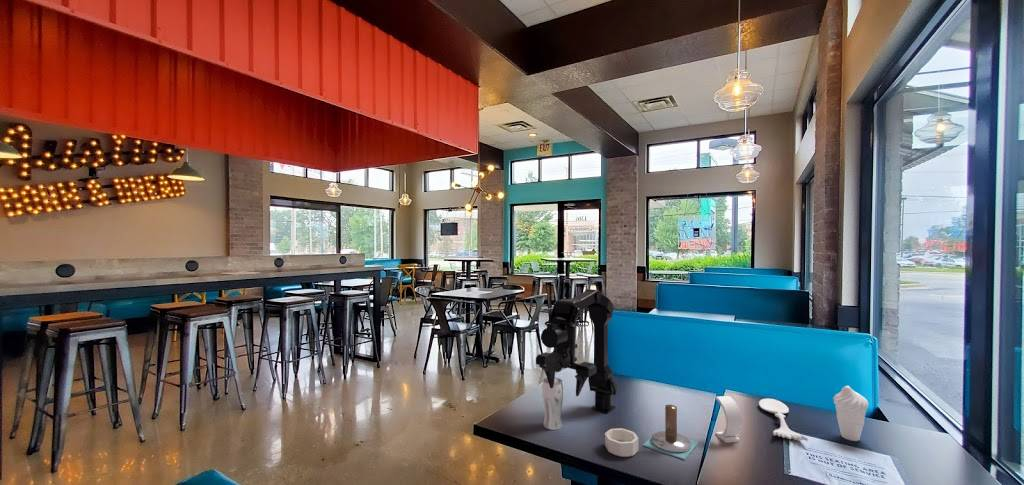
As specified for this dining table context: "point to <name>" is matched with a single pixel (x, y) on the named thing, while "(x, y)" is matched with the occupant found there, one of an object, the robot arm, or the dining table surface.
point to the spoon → (779, 410)
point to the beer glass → (552, 403)
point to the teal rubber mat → (678, 455)
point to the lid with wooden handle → (671, 434)
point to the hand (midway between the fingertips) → (564, 391)
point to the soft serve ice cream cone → (850, 413)
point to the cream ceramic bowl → (621, 442)
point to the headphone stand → (730, 419)
